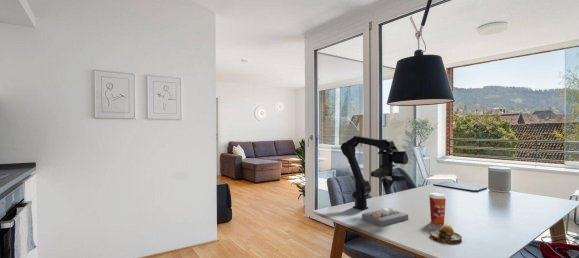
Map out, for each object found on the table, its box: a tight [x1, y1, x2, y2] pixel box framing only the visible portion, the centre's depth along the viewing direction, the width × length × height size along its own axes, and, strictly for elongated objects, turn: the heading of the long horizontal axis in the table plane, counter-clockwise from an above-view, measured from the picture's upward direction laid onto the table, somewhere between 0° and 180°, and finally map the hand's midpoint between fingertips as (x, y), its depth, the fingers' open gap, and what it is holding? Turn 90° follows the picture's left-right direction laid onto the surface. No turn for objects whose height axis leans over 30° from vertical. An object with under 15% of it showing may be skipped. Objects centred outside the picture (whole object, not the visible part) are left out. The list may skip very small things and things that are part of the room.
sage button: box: [389, 208, 398, 214], centre depth 147 cm, size 4×4×4 cm
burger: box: [429, 224, 463, 245], centre depth 119 cm, size 12×12×8 cm
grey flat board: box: [361, 208, 409, 227], centre depth 144 cm, size 13×19×2 cm
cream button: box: [380, 207, 390, 216], centre depth 144 cm, size 4×4×4 cm
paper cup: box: [428, 192, 447, 226], centre depth 138 cm, size 8×8×14 cm
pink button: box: [372, 211, 381, 218], centre depth 141 cm, size 4×4×4 cm
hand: (387, 191), depth 152 cm, fingers closed
